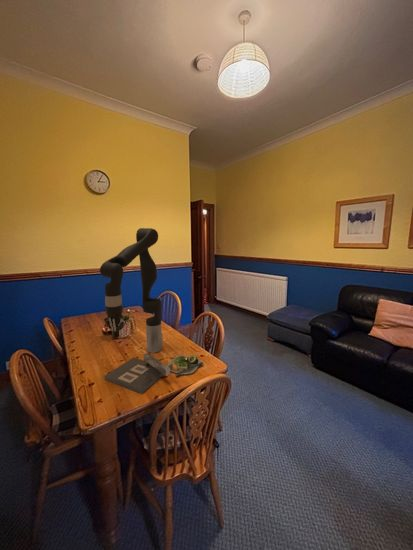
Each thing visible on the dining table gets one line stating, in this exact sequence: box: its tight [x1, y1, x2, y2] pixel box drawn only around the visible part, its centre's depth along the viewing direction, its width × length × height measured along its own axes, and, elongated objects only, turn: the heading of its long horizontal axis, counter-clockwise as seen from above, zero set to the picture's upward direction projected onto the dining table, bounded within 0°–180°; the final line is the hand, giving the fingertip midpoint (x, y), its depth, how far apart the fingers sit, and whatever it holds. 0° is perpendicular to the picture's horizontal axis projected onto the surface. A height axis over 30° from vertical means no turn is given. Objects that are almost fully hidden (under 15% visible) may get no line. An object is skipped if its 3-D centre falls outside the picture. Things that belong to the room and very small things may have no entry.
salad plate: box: [166, 354, 204, 377], centre depth 125 cm, size 19×18×5 cm
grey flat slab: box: [104, 357, 165, 395], centre depth 118 cm, size 20×24×4 cm
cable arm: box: [143, 352, 171, 376], centre depth 118 cm, size 21×4×3 cm, turn 45°
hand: (116, 337), depth 114 cm, fingers closed
